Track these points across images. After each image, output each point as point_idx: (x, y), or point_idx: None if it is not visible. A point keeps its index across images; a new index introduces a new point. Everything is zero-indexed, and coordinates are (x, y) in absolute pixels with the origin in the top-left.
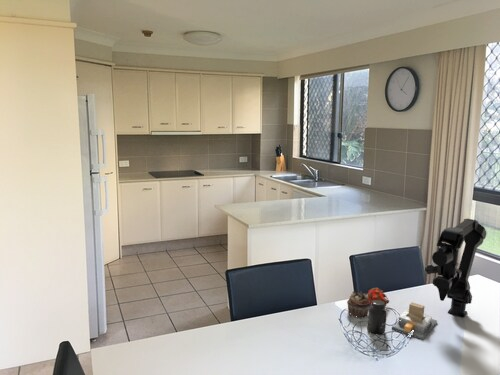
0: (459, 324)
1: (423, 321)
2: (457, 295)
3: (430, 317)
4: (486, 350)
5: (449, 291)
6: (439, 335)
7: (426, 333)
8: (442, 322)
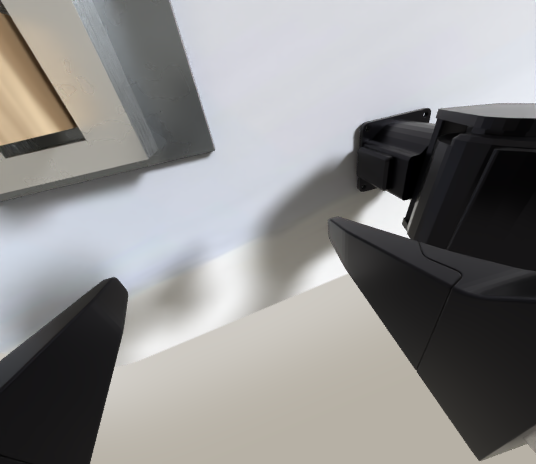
0: (287, 209)
1: (16, 165)
2: (420, 208)
3: (122, 160)
4: (192, 323)
5: (340, 250)
6: (118, 218)
7: (37, 192)
8: (245, 161)
